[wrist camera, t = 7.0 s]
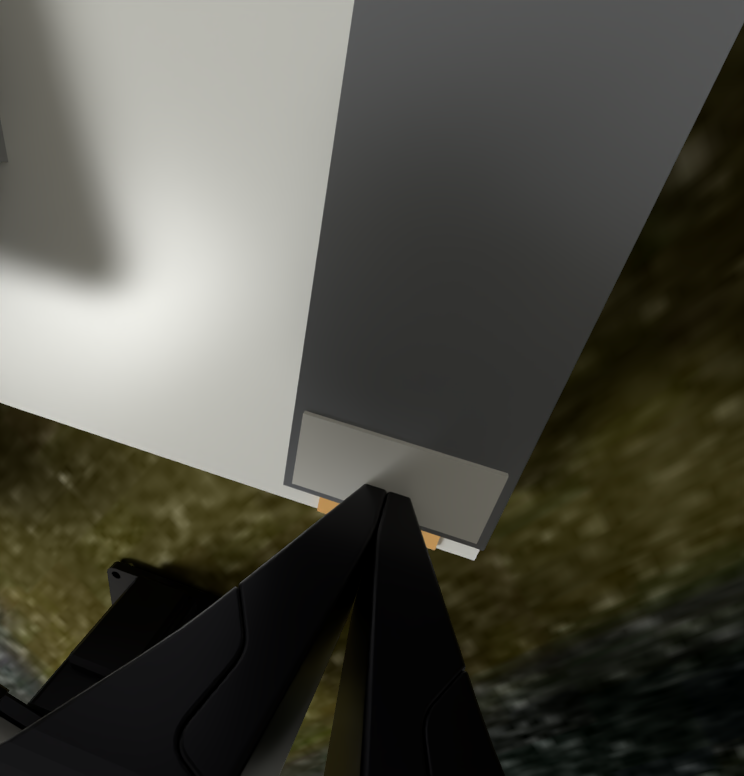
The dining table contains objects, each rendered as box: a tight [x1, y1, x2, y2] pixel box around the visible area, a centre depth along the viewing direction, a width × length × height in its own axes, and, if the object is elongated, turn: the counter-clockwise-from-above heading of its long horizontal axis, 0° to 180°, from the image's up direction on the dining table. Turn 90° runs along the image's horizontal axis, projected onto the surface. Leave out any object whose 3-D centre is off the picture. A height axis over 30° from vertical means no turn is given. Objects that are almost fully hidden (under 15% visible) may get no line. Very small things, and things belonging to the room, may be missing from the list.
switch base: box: [0, 0, 479, 560], centre depth 10 cm, size 16×20×4 cm
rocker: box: [283, 0, 744, 551], centre depth 6 cm, size 9×4×2 cm, turn 167°
